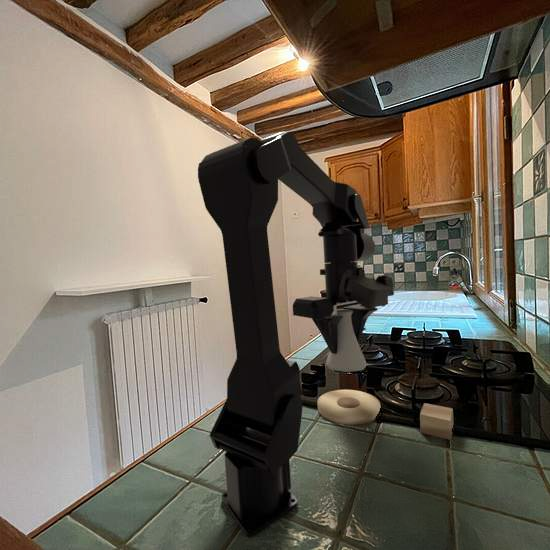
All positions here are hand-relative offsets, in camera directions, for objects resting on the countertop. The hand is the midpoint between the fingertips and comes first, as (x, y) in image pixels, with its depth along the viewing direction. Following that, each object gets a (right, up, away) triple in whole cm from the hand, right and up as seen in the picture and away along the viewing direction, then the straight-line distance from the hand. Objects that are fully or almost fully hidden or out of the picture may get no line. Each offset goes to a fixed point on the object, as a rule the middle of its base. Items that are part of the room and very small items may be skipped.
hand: (345, 350), depth 54 cm
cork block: (+12, -10, -8) cm, 18 cm away
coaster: (+1, -11, +1) cm, 11 cm away
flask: (0, -3, 0) cm, 3 cm away
